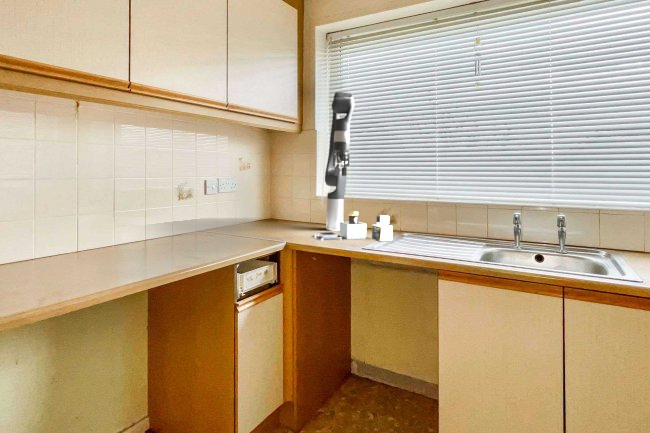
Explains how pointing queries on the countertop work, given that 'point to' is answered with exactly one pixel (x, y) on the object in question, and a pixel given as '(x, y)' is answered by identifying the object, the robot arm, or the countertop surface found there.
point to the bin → (353, 230)
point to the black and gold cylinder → (353, 217)
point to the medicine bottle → (382, 229)
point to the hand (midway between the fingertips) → (340, 175)
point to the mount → (327, 236)
